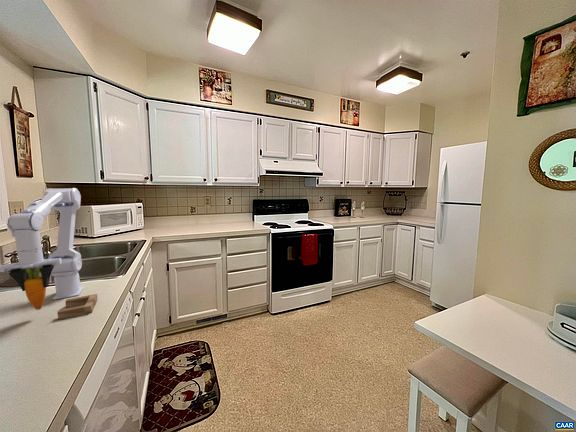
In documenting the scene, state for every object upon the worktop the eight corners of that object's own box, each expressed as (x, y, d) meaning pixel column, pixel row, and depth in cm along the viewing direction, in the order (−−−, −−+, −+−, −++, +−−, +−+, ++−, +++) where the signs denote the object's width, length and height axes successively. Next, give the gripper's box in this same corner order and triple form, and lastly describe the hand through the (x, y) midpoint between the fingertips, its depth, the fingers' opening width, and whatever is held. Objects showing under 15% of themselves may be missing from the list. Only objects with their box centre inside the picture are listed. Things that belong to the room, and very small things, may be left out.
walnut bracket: (67, 305, 93) (66, 299, 92) (97, 299, 97) (96, 293, 97) (58, 319, 83) (57, 312, 83) (91, 312, 87) (91, 305, 87)
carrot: (47, 304, 88) (41, 264, 86) (50, 309, 85) (44, 267, 83) (27, 310, 84) (20, 268, 82) (29, 315, 81) (22, 271, 79)
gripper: (-9, 255, 75) (-2, 297, 77) (54, 249, 82) (60, 287, 84) (3, 250, 81) (10, 289, 83) (61, 244, 88) (66, 280, 90)
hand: (35, 288), depth 84 cm, fingers closed on carrot, 5 cm apart
